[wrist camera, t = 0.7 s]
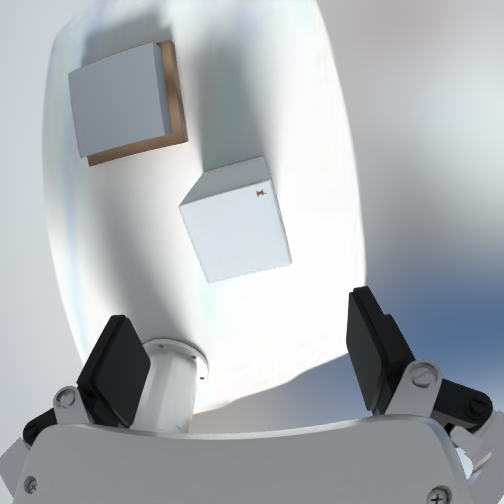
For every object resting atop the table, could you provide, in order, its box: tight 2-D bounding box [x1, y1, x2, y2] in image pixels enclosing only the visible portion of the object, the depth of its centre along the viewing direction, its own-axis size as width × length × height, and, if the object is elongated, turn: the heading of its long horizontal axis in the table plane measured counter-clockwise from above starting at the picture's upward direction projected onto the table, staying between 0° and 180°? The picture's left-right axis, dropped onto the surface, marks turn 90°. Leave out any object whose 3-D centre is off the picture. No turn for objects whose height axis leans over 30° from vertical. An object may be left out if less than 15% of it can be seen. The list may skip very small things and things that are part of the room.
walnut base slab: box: [87, 40, 188, 167], centre depth 27 cm, size 12×12×3 cm
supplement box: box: [179, 156, 292, 283], centre depth 27 cm, size 7×7×13 cm
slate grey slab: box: [69, 42, 173, 158], centre depth 24 cm, size 10×10×3 cm
